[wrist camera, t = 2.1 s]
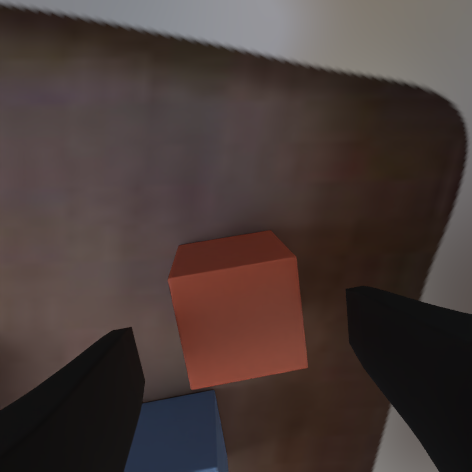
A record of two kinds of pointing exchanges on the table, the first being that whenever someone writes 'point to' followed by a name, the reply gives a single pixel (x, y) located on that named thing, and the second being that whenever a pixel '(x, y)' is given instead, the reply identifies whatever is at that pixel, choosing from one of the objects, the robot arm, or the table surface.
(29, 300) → the table surface
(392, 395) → the robot arm
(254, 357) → the red block
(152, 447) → the blue block
